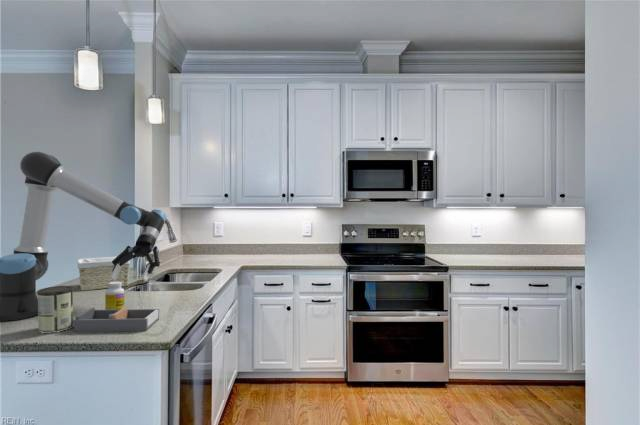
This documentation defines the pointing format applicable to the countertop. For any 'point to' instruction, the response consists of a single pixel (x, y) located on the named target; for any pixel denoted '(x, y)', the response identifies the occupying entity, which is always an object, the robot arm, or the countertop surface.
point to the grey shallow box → (115, 320)
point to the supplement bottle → (114, 296)
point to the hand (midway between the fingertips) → (128, 279)
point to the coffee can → (55, 309)
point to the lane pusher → (120, 314)
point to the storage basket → (100, 273)
